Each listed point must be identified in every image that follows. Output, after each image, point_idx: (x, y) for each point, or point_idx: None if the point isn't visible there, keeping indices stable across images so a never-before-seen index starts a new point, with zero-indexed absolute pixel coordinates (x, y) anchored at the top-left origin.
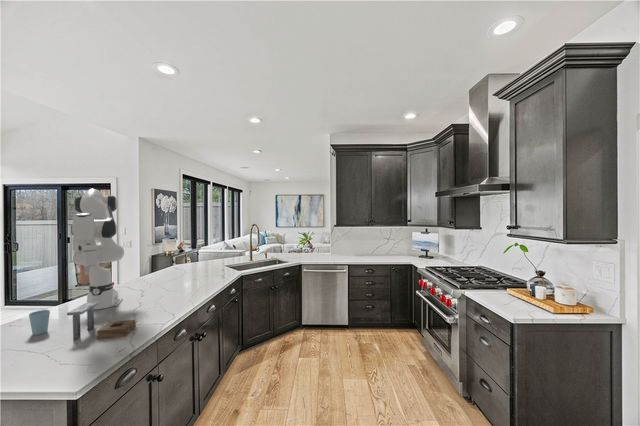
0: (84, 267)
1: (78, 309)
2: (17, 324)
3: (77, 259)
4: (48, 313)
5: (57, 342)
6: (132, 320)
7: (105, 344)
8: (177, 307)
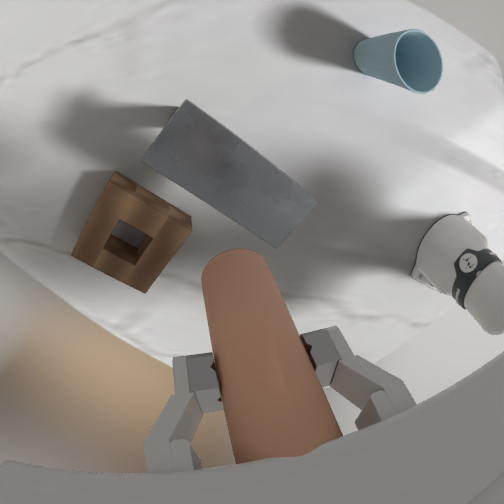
0: (172, 445)
1: (210, 155)
2: (482, 69)
3: (450, 468)
4: (398, 80)
5: (202, 63)
6: (140, 285)
7: (51, 185)
8: None
